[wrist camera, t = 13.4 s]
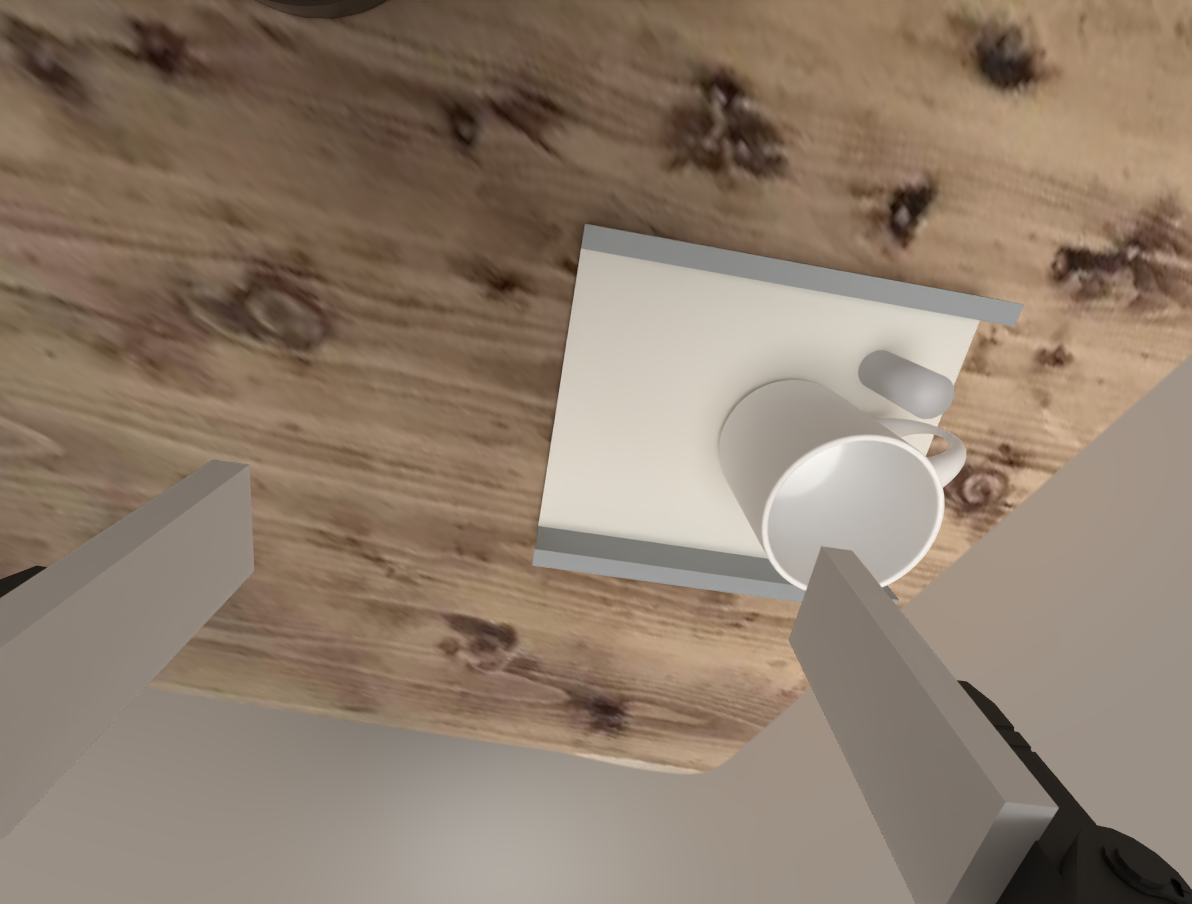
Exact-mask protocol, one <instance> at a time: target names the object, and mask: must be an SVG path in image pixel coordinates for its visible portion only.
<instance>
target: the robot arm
mask: <svg viewBox="0 0 1192 904" xmlns="http://www.w3.org/2000/svg"><path fill="white" fill-rule="evenodd" d="M256 1H258V2H260V3H262V4H264V5H266V6H269V7H271V8H274V9H276V10H279V11H282V12H285V13H290V14H294V15H298V16H304V17H314V18H333V17H342V16H347V15H352V14H356V13H359V12H362V11H365V10H367V9H370V8H372V7H374V6H376V5H378V4H380V3H382V2H384V1H385V0H256ZM253 572H254V557H253V535H252V513H251V491H250V469H249V465H248V464H241V463H234V462H227V461H220V460H212V461H210V462H209V463H207V464H206V465H204V466H202V467H201V468H199V469H198V470H196V471H195V472H193V473H192V474H190V475H189V476H187V477H186V478H184V479H183V480H181V481H179V482H178V483H176V484H175V485H173V486H172V487H170V488H169V489H167V490H166V491H164V492H163V493H161V494H159V495H158V496H156V497H155V498H153V499H152V500H150V501H149V502H147V503H146V504H144V505H143V506H141V507H139V508H138V509H136V510H135V511H133V512H132V513H130V514H129V515H127V516H126V517H124V518H123V519H121V520H120V521H118V522H116V523H115V524H113V525H112V526H110V527H109V528H107V529H106V530H104V531H103V532H101V533H100V534H98V535H96V536H95V537H93V538H92V539H90V540H89V541H87V542H86V543H84V544H83V545H81V546H80V547H78V548H77V549H75V550H73V551H72V552H70V553H69V554H67V555H66V556H64V557H63V558H61V559H60V560H58V561H57V562H55V563H53V564H52V565H50V566H49V567H42V566H34V567H32V568H29V569H27V570H24V571H21V572H19V573H16V574H14V575H11V576H8V577H6V578H3V579H0V842H1V841H2V840H3V839H4V838H5V837H6V836H7V835H8V834H9V833H10V832H11V830H12V829H13V828H14V827H15V826H16V825H17V824H18V823H19V822H20V821H21V820H22V819H23V818H24V817H25V815H26V814H27V813H28V812H29V811H30V810H31V809H32V808H33V807H34V806H35V805H36V804H37V803H38V802H39V801H40V799H41V798H42V797H43V796H44V795H45V794H46V793H47V792H48V791H49V790H50V789H51V788H52V786H54V784H55V783H56V782H57V781H58V780H59V779H60V778H61V777H62V776H63V775H64V774H65V773H66V772H67V771H68V769H69V768H70V767H71V766H72V765H73V764H74V763H75V762H76V761H77V760H78V759H79V758H80V757H81V756H82V755H83V754H84V752H85V751H86V750H87V749H88V748H89V747H90V746H91V745H92V744H93V743H94V742H95V741H96V739H97V738H99V736H100V735H101V734H102V733H103V732H104V731H105V730H106V729H107V728H108V727H109V726H110V725H111V723H113V721H114V720H115V719H116V718H117V717H118V716H119V715H120V714H121V713H122V712H123V711H124V710H125V709H126V708H127V707H128V705H129V704H130V703H131V702H132V701H133V700H134V699H135V698H136V697H137V695H139V694H140V693H141V692H142V690H143V689H144V688H145V687H146V686H147V685H148V684H149V683H150V682H151V681H152V680H153V679H154V678H155V677H156V676H157V674H158V673H159V672H160V671H161V670H162V669H163V668H164V667H165V666H166V665H167V664H168V663H169V662H170V661H171V659H172V658H173V657H174V656H175V655H176V654H177V653H178V652H179V651H180V650H181V649H182V648H183V647H184V646H185V645H186V643H187V642H188V641H189V640H190V639H191V638H192V637H193V636H194V635H195V634H196V633H197V632H198V631H199V630H200V628H201V627H202V626H203V625H204V624H205V623H206V622H207V621H208V620H209V619H210V618H211V617H212V616H213V615H214V614H215V612H216V611H217V610H218V609H219V608H220V607H221V606H222V605H223V604H224V603H225V602H226V601H227V600H228V599H229V597H230V596H231V595H232V594H233V593H234V592H235V591H236V590H237V589H238V588H239V587H240V586H241V585H242V584H243V583H244V581H245V580H246V579H247V578H248V577H249V576H250V575H251V574H252V573H253ZM789 642H790V644H791V646H792V648H793V650H794V652H795V654H796V657H797V659H798V661H799V663H800V665H801V667H802V669H803V671H804V673H805V675H806V677H807V679H808V681H809V683H810V686H811V688H812V690H813V692H814V694H815V696H816V698H817V700H818V702H819V704H820V706H821V708H822V710H823V712H824V715H825V716H826V719H827V720H828V723H829V725H830V727H831V729H832V731H833V733H834V735H835V737H836V739H837V741H838V744H839V746H840V748H841V750H842V752H843V754H844V756H845V758H846V760H847V762H848V764H849V766H850V769H851V771H852V773H853V775H854V777H855V779H856V781H857V783H858V785H859V787H860V789H861V791H862V793H863V795H864V797H865V800H866V802H867V804H868V806H869V808H870V810H871V812H872V814H873V816H874V818H875V820H876V822H877V825H878V827H879V829H880V831H881V833H882V835H883V837H884V839H885V841H886V843H887V845H888V847H889V849H890V851H891V854H892V856H893V858H894V860H895V862H896V864H897V866H898V868H899V870H900V872H901V874H902V876H903V878H904V880H905V882H906V884H907V887H908V889H909V891H910V893H911V895H912V897H913V899H914V901H915V903H916V904H1192V889H1191V888H1190V887H1189V886H1188V884H1187V883H1186V882H1185V881H1184V879H1183V878H1182V877H1181V876H1180V875H1179V873H1178V872H1177V871H1176V870H1175V869H1173V868H1172V867H1171V866H1170V865H1169V864H1168V863H1167V862H1166V861H1164V860H1163V859H1162V858H1161V857H1160V856H1159V855H1157V854H1156V853H1155V852H1153V851H1152V850H1150V849H1149V848H1147V847H1146V846H1144V845H1143V844H1141V843H1140V842H1138V841H1136V840H1135V839H1134V838H1132V837H1129V836H1127V835H1125V834H1123V833H1121V832H1118V831H1116V830H1114V829H1111V828H1107V827H1102V826H1097V825H1096V823H1095V822H1094V821H1093V820H1092V819H1091V818H1090V816H1089V815H1088V814H1087V813H1086V812H1085V810H1084V809H1083V808H1082V807H1081V806H1080V805H1079V804H1078V802H1077V801H1076V800H1075V799H1074V797H1073V796H1072V795H1071V794H1070V793H1069V792H1068V790H1067V789H1066V788H1065V787H1064V786H1063V784H1062V783H1061V782H1060V781H1059V780H1058V778H1057V777H1056V776H1055V775H1054V774H1053V773H1052V771H1051V770H1050V769H1049V768H1048V767H1047V765H1046V764H1045V763H1044V762H1043V761H1042V760H1041V758H1040V757H1039V756H1038V755H1037V754H1036V752H1032V751H1031V746H1030V745H1029V744H1028V743H1027V742H1026V740H1025V739H1024V738H1023V737H1022V736H1021V734H1020V733H1019V732H1015V731H1014V727H1013V725H1012V724H1011V723H1010V721H1009V720H1008V719H1007V718H1006V717H1005V716H1004V714H1003V713H1002V712H1001V711H1000V710H999V708H998V707H997V706H996V705H995V704H994V703H993V702H992V701H991V700H989V699H988V698H987V697H986V696H984V695H983V694H982V693H981V692H979V691H978V690H977V689H976V688H974V687H973V686H972V685H971V684H969V683H968V682H966V681H958V680H956V679H955V678H954V677H953V675H952V674H951V673H950V672H949V670H948V669H947V668H946V667H945V665H944V664H943V663H942V662H941V661H940V659H939V658H938V657H937V655H936V654H935V653H934V652H933V650H932V649H931V648H930V647H929V645H928V644H927V643H926V642H925V641H924V639H923V638H922V637H921V635H920V634H919V633H918V632H917V631H916V629H915V628H914V627H913V625H912V624H911V623H910V622H909V620H908V619H907V618H906V617H905V615H904V614H903V613H902V612H901V610H900V609H899V608H898V607H897V606H896V604H895V603H894V602H893V601H892V599H891V598H890V597H889V596H888V594H887V593H886V592H885V591H884V589H883V588H882V587H881V586H880V584H879V583H878V582H877V581H876V579H875V578H874V577H873V576H872V574H871V573H870V572H869V571H868V569H867V568H866V567H865V566H864V564H863V563H862V562H861V561H860V559H859V558H858V557H857V556H856V554H855V553H854V552H853V551H852V550H845V549H838V548H831V547H824V546H821V549H820V552H819V555H818V557H817V560H816V563H815V566H814V569H813V572H812V575H811V577H810V580H809V583H808V586H807V589H806V592H805V595H804V598H803V600H802V603H801V606H800V609H799V612H798V615H797V618H796V620H795V623H794V626H793V629H792V632H791V635H790V638H789Z"/></svg>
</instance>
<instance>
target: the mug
mask: <svg viewBox="0 0 1192 904" xmlns="http://www.w3.org/2000/svg"><path fill="white" fill-rule="evenodd" d="M911 434H934V435H938V436H941V437H943V438H944V439H946V440H947V441H948V442H949V444H950V447H949V449H947V450H946V451H945V452H943V453H941V454H938V455H935V456H932V457H928V458H927V457H926V456H925V455H924V454H922V453H921V452H920V451H919V450H918V449H916V448H915V447H913V446H912V445H910V444H909V443H908V442H906V441H905V440H903V439H902V438H900V437H902V436H906V435H911ZM719 458H720V465H721V468H722V471H723V474H724V477H725V479H726V481H727V483H728V485H729V487H730V489H731V490H732V492H733V494H734V496H735V498H736V500H737V502H738V503H739V505H740V507H741V509H742V511H743V513H744V515H745V516H746V518H747V520H748V522H749V524H750V526H751V528H752V529H753V531H754V533H755V535H756V537H757V539H758V540H759V542H760V544H761V546H762V548H763V550H764V552H765V553H766V555H767V557H768V559H769V561H770V562H771V564H772V565H773V567H774V568H775V570H776V571H777V572H778V573H779V574H780V575H781V576H782V577H783V578H784V579H786V580H787V581H788V582H790V583H791V584H793V585H795V586H796V587H798V588H800V589H802V590H805V591H806V589H807V586H808V583H809V580H810V577H811V575H812V572H813V569H814V566H815V563H816V560H817V557H818V555H819V552H820V549H821V546H824V547H831V548H838V549H845V550H852V551H853V552H854V553H855V554H856V556H857V557H858V558H859V559H860V561H861V562H862V563H863V564H864V566H865V567H866V568H867V569H868V571H869V572H870V573H871V574H872V576H873V577H874V578H875V579H876V581H877V582H878V583H879V584H880V586H881V587H884V586H887V585H888V584H890V583H892V582H894V581H896V580H897V579H899V578H900V577H902V576H903V575H905V574H906V573H907V572H908V571H910V570H911V569H912V568H913V567H914V566H915V565H916V564H917V563H918V562H919V561H920V560H921V559H922V558H923V557H924V555H925V554H926V553H927V552H928V550H929V549H930V547H931V546H932V544H933V542H934V540H935V539H936V537H937V534H938V532H939V530H940V527H941V523H942V519H943V514H944V492H943V487H944V486H945V485H946V484H948V483H949V482H950V481H951V480H952V479H953V478H954V477H955V476H956V475H957V474H958V473H959V471H960V470H961V468H962V467H963V465H964V462H965V460H966V448H965V445H964V443H963V442H962V441H961V440H960V439H959V438H958V437H956V436H955V435H954V434H952V433H950V432H948V431H946V430H944V429H941V428H939V427H936V426H933V425H930V424H927V423H923V422H918V421H914V420H907V419H894V418H881V419H873V418H872V417H870V416H869V415H867V414H866V413H864V412H863V411H861V410H860V409H859V408H857V407H856V406H854V405H853V404H851V403H850V402H848V401H847V400H846V399H844V398H843V397H841V396H840V395H838V394H837V393H835V392H834V391H832V390H830V389H828V388H826V387H824V386H822V385H820V384H817V383H813V382H809V381H803V380H784V381H778V382H774V383H771V384H768V385H765V386H763V387H761V388H759V389H757V390H755V391H754V392H752V393H751V394H749V395H748V396H747V397H745V398H744V399H743V400H742V401H741V402H740V403H739V404H738V405H737V406H736V407H735V408H734V410H733V411H732V412H731V414H730V415H729V417H728V419H727V420H726V422H725V425H724V427H723V429H722V433H721V437H720V443H719Z"/></svg>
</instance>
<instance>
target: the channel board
mask: <svg viewBox="0 0 1192 904" xmlns="http://www.w3.org/2000/svg"><path fill="white" fill-rule="evenodd" d="M1023 305H1024V304H1019V303H1014V302H1008V301H1003V300H998V299H993V298H988V297H983V296H978V295H972V294H967V293H962V292H956V291H951V290H945V289H940V288H934V287H929V286H923V285H918V284H913V283H907V282H902V281H896V280H891V279H885V278H880V277H874V276H869V275H864V274H858V273H853V272H847V271H842V270H836V269H831V268H825V267H820V266H814V265H809V264H804V263H798V262H793V261H787V260H782V259H776V258H771V257H765V256H760V255H755V254H749V253H744V252H738V251H733V250H727V249H722V248H716V247H711V246H706V245H700V244H695V243H689V242H684V241H678V240H673V239H667V238H662V237H657V236H651V235H646V234H640V233H635V232H629V231H624V230H618V229H613V228H607V227H602V226H597V225H591V224H586V223H585V226H584V233H583V239H582V246H581V252H580V259H579V265H578V272H577V278H576V285H575V291H574V298H573V304H572V311H571V317H570V324H569V330H568V337H567V343H566V350H565V356H564V363H563V369H562V376H561V382H560V389H559V395H558V402H557V408H556V415H555V421H554V427H553V434H552V440H551V447H550V453H549V460H548V466H547V473H546V479H545V486H544V492H543V499H542V505H541V512H540V518H539V525H538V531H537V538H536V544H535V551H534V558H533V564H532V566H540V567H547V568H554V569H561V570H569V571H576V572H583V573H591V574H598V575H605V576H612V577H620V578H627V579H634V580H641V581H649V582H656V583H663V584H670V585H678V586H685V587H692V588H700V589H707V590H714V591H721V592H729V593H736V594H743V595H750V596H758V597H765V598H772V599H779V600H787V601H794V602H801V603H802V600H803V598H804V595H805V592H806V591H805V590H802V589H800V588H798V587H796V586H795V585H793V584H791V583H790V582H788V581H787V580H786V579H784V578H783V577H782V576H781V575H780V574H779V573H778V572H777V571H776V570H775V568H774V567H773V565H772V564H771V562H770V561H769V559H768V557H767V555H766V553H765V552H764V550H763V548H762V546H761V544H760V542H759V540H758V539H757V537H756V535H755V533H754V531H753V529H752V528H751V526H750V524H749V522H748V520H747V518H746V516H745V515H744V513H743V511H742V509H741V507H740V505H739V503H738V502H737V500H736V498H735V496H734V494H733V492H732V490H731V489H730V487H729V485H728V483H727V481H726V479H725V477H724V474H723V471H722V468H721V465H720V458H719V443H720V437H721V433H722V429H723V427H724V425H725V422H726V420H727V419H728V417H729V415H730V414H731V412H732V411H733V410H734V408H735V407H736V406H737V405H738V404H739V403H740V402H741V401H742V400H743V399H744V398H745V397H747V396H748V395H749V394H751V393H752V392H754V391H755V390H757V389H759V388H761V387H763V386H765V385H768V384H771V383H774V382H778V381H784V380H803V381H809V382H813V383H817V384H820V385H822V386H824V387H826V388H828V389H830V390H832V391H834V392H835V393H837V394H838V395H840V396H841V397H843V398H844V399H846V400H847V401H848V402H850V403H851V404H853V405H854V406H856V407H857V408H859V409H860V410H861V411H863V412H864V413H866V414H867V415H869V416H870V417H872V418H873V419H881V418H894V419H907V420H914V421H918V422H923V423H927V424H930V425H933V426H936V427H937V426H938V424H939V421H940V419H941V416H942V414H943V413H944V412H945V411H946V410H947V409H948V408H949V407H950V405H951V403H952V401H953V399H954V384H955V381H956V379H957V376H958V374H959V371H960V369H961V366H962V364H963V361H964V359H965V356H966V354H967V351H968V349H969V346H970V344H971V341H972V338H973V336H974V333H975V331H976V328H977V326H978V323H979V321H980V320H981V321H986V322H992V323H997V324H1003V325H1008V326H1014V327H1015V324H1016V322H1017V319H1018V317H1019V315H1020V312H1021V310H1022V308H1023ZM933 436H934V434H911V435H906V436H902V437H900V438H902V439H903V440H905V441H906V442H908V443H909V444H910V445H912V446H913V447H915V448H916V449H918V450H919V451H920V452H921V453H922V454H924V455H925V456H926V454H927V451H928V449H929V446H930V444H931V441H932V439H933ZM882 588H883V589H884V591H885V592H886V593H887V594H888V596H889V597H890V598H891V599H892V601H893V602H894V603H895V604H896V606H897V604H898V602H899V599H898V598H897V597H896V595H895V594H894V593H893V592H892V591H891V589H890V588H889V587H888V586H884V587H882Z"/></svg>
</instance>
